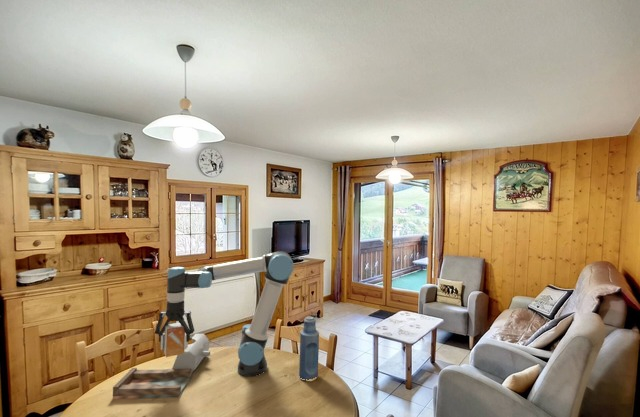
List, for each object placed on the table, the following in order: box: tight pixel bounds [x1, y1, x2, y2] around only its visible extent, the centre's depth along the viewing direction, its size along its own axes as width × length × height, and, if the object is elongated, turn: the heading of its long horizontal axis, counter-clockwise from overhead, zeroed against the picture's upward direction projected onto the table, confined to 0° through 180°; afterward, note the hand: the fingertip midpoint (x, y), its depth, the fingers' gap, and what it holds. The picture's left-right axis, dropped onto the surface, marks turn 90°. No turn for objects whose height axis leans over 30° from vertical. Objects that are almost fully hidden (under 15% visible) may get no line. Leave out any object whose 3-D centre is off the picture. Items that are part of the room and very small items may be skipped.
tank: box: [171, 333, 211, 374], centre depth 172 cm, size 25×16×12 cm, turn 2°
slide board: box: [112, 367, 192, 400], centre depth 149 cm, size 28×17×5 cm, turn 95°
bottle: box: [298, 315, 320, 380], centre depth 162 cm, size 10×10×30 cm
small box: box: [163, 322, 186, 358], centre depth 150 cm, size 8×6×13 cm
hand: (174, 348), depth 150 cm, fingers closed on small box, 10 cm apart
